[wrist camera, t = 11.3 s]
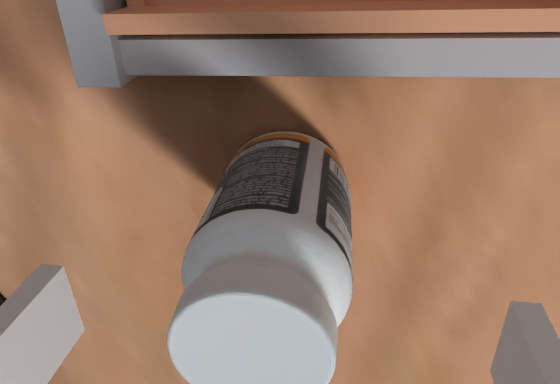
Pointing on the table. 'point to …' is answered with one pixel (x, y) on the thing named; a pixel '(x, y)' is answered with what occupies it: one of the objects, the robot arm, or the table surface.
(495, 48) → the bay
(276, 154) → the pill bottle
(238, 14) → the crate
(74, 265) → the table surface
